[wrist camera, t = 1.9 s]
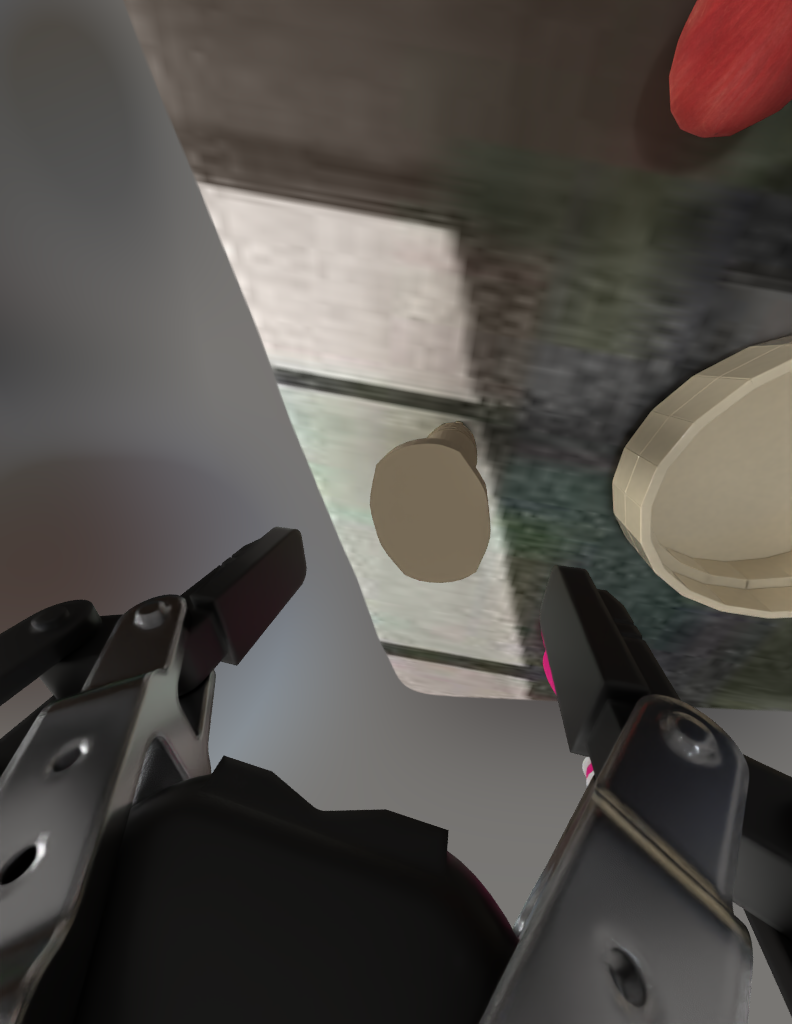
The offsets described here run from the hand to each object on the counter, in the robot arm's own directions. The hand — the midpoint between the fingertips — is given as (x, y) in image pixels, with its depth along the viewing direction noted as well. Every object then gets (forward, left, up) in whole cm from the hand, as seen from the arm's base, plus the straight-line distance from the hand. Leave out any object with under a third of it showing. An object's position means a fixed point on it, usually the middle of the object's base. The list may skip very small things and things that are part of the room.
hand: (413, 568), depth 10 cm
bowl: (+1, +21, -18) cm, 28 cm away
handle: (0, 0, -18) cm, 18 cm away
